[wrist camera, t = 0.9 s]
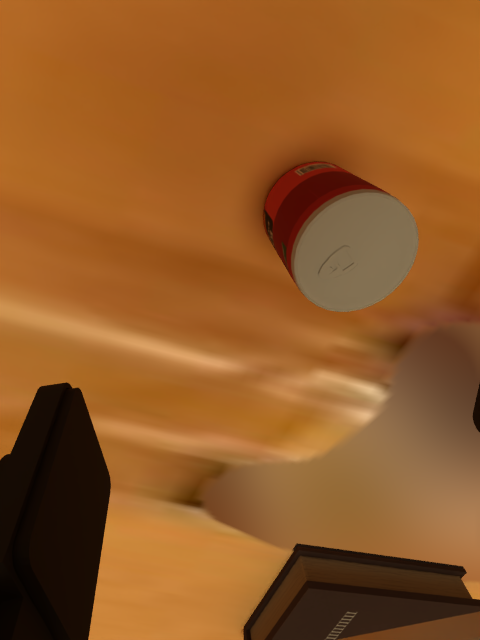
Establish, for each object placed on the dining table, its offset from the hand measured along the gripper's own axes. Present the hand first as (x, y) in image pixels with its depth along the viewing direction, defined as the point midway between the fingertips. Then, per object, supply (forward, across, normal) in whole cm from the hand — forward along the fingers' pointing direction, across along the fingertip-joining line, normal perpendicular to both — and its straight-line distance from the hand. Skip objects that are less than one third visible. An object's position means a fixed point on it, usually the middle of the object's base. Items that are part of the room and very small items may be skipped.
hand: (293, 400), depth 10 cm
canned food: (+28, -8, +4) cm, 29 cm away
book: (+28, -14, +63) cm, 70 cm away
